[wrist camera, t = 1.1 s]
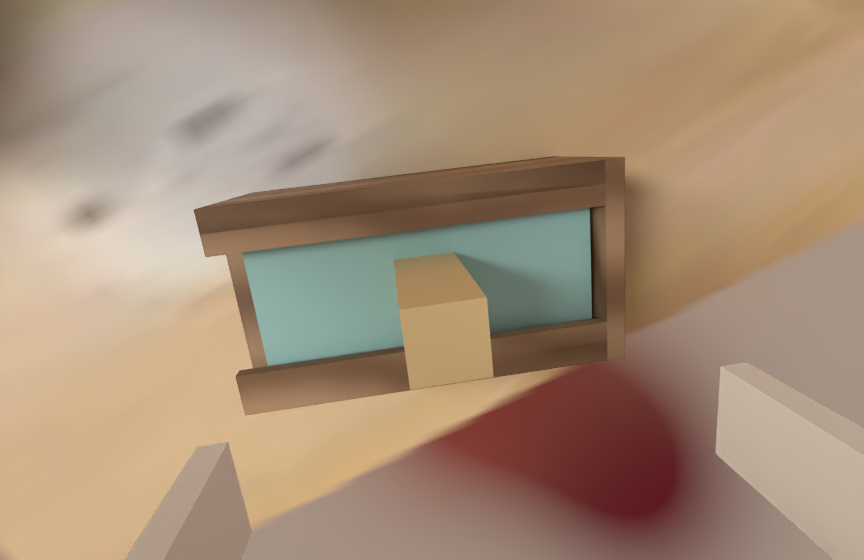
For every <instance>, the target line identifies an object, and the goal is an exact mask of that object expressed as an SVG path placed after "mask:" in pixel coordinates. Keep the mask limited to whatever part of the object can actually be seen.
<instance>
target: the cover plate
mask: <svg viewBox="0 0 864 560" xmlns="http://www.w3.org/2000/svg"><path fill="white" fill-rule="evenodd" d="M242 255H243V259H244V264H245V268H246V272H247V277H248V281H249V286H250V290H251V294H252V299H253V303H254V307H255V312H256V316H257V321H258V325H259V329H260V334H261V338H262V342H263V347H264V351H265V356H266V360H267V364H268V366H274V365H281V364H288V363H295V362H301V361H308V360H315V359H322V358H329V357H336V356H342V355H349V354H356V353H363V352H370V351H377V350H383V349H390V348H397V347H404V349H405V357H406V364H407V371H408V378H409V385H410V390H413V389H420V388H426V387H433V386H439V385H446V384H452V383H459V382H465V381H472V380H478V379H485V378H491V377H494V376H493V364H492V352H491V340H490V334H493V333H499V332H506V331H513V330H520V329H527V328H534V327H540V326H547V325H554V324H561V323H568V322H575V321H581V320H588V319H592V293H591V245H590V208H582V209H575V210H567V211H559V212H551V213H544V214H536V215H528V216H520V217H513V218H505V219H497V220H489V221H482V222H474V223H466V224H458V225H451V226H443V227H435V228H427V229H420V230H412V231H404V232H396V233H389V234H381V235H373V236H365V237H358V238H350V239H342V240H334V241H327V242H319V243H311V244H303V245H296V246H288V247H280V248H272V249H265V250H257V251H249V252H242Z"/></svg>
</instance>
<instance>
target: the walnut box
mask: <svg viewBox="0 0 864 560" xmlns="http://www.w3.org/2000/svg"><path fill="white" fill-rule="evenodd" d="M582 208H590V245H591V293H592V319H588V320H581V321H575V322H568V323H561V324H554V325H547V326H540V327H534V328H527V329H520V330H513V331H506V332H499V333H493V334H490V340H491V352H492V364H493V376H494V377H500V376H507V375H513V374H520V373H526V372H533V371H539V370H546V369H552V368H559V367H565V366H572V365H578V364H585V363H591V362H598V361H604V360H611V359H618V358H624V357H625V157H545V158H537V159H529V160H521V161H512V162H504V163H496V164H487V165H479V166H471V167H462V168H454V169H446V170H438V171H429V172H421V173H413V174H404V175H396V176H388V177H379V178H371V179H363V180H355V181H346V182H338V183H330V184H321V185H313V186H305V187H296V188H288V189H280V190H272V191H263V192H255V193H250V194H246V195H243V196H239V197H236V198H232V199H229V200H226V201H222V202H219V203H215V204H212V205H208V206H205V207H202V208H198V209H195V210H194V213H195V217H196V221H197V225H198V229H199V233H200V237H201V241H202V245H203V249H204V253H205V257H210V256H218V255H226V256H227V260H228V265H229V269H230V273H231V277H232V281H233V286H234V290H235V294H236V298H237V302H238V307H239V311H240V315H241V319H242V323H243V328H244V332H245V336H246V340H247V344H248V349H249V353H250V357H251V361H252V365H253V369H247V370H240V371H239V372H238V374H237V375H236V381H237V384H238V388H239V392H240V396H241V400H242V404H243V408H244V412H245V415H252V414H258V413H265V412H271V411H278V410H285V409H291V408H298V407H304V406H311V405H317V404H324V403H330V402H337V401H343V400H350V399H356V398H363V397H369V396H376V395H382V394H389V393H396V392H402V391H409V390H410V385H409V378H408V371H407V364H406V357H405V349H404V347H397V348H390V349H383V350H377V351H370V352H363V353H356V354H349V355H342V356H336V357H329V358H322V359H315V360H308V361H301V362H295V363H288V364H281V365H274V366H268V364H267V360H266V356H265V351H264V347H263V342H262V338H261V334H260V329H259V325H258V321H257V316H256V312H255V307H254V303H253V299H252V294H251V290H250V286H249V281H248V277H247V272H246V268H245V264H244V259H243V255H242V252H249V251H257V250H265V249H272V248H280V247H288V246H296V245H303V244H311V243H319V242H327V241H334V240H342V239H350V238H358V237H365V236H373V235H381V234H389V233H396V232H404V231H412V230H420V229H427V228H435V227H443V226H451V225H458V224H466V223H474V222H482V221H489V220H497V219H505V218H513V217H520V216H528V215H536V214H544V213H551V212H559V211H567V210H575V209H582ZM491 378H493V377H491ZM485 379H487V378H485ZM478 380H480V379H478ZM472 381H474V380H472ZM465 382H467V381H465ZM459 383H461V382H459ZM452 384H454V383H452ZM446 385H448V384H446ZM439 386H441V385H439ZM433 387H435V386H433ZM426 388H428V387H426ZM420 389H422V388H420ZM413 390H415V389H413Z"/></svg>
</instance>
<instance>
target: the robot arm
mask: <svg viewBox="0 0 864 560" xmlns="http://www.w3.org/2000/svg"><path fill="white" fill-rule="evenodd" d="M716 454H717V455H718V456H719V457H720V458H721V459H722V460H723V461H724V462H726V463H727V464H728V465H729V466H730V467H731V468H732V469H733V470H734V471H736V472H737V473H738V474H739V475H740V476H741V477H742V478H743V479H745V480H746V481H747V482H748V483H749V484H750V485H751V486H752V487H753V488H755V489H756V490H757V491H758V492H759V493H760V494H761V495H763V496H764V497H765V498H766V499H767V500H768V501H769V502H770V503H771V504H772V505H774V506H775V507H776V508H777V509H778V510H779V511H780V512H781V513H782V514H784V515H785V516H786V517H787V518H788V519H789V520H790V521H791V522H792V523H794V524H795V525H796V526H797V527H798V528H799V529H800V530H801V531H803V532H804V533H805V534H806V535H807V536H808V537H809V538H810V539H812V540H813V541H814V542H815V543H816V544H817V545H818V546H819V547H820V548H821V549H823V550H824V551H825V552H826V553H827V554H828V555H829V556H830V557H832V558H833V559H834V560H864V428H863V427H861V426H859V425H857V424H856V423H854V422H852V421H850V420H848V419H847V418H845V417H843V416H841V415H840V414H838V413H836V412H834V411H833V410H831V409H829V408H827V407H826V406H824V405H822V404H820V403H819V402H817V401H815V400H813V399H811V398H810V397H808V396H806V395H804V394H803V393H801V392H799V391H797V390H796V389H794V388H792V387H790V386H789V385H787V384H785V383H783V382H781V381H780V380H778V379H776V378H774V377H773V376H771V375H769V374H767V373H766V372H764V371H762V370H760V369H759V368H757V367H755V366H753V365H751V364H750V363H748V362H745V363H738V364H731V365H725V366H721V367H720V384H719V401H718V418H717V436H716ZM250 534H251V527H250V523H249V519H248V515H247V512H246V508H245V504H244V500H243V496H242V493H241V489H240V485H239V481H238V478H237V474H236V470H235V466H234V462H233V459H232V455H231V451H230V447H229V444H228V442H225V443H219V444H212V445H206V446H199V447H197V448H196V449H195V451H194V453H193V454H192V456H191V457H190V459H189V460H188V462H187V463H186V465H185V466H184V468H183V470H182V471H181V473H180V474H179V476H178V477H177V479H176V480H175V482H174V483H173V485H172V487H171V488H170V490H169V491H168V493H167V494H166V496H165V497H164V499H163V501H162V502H161V504H160V505H159V507H158V508H157V510H156V511H155V513H154V514H153V516H152V518H151V519H150V521H149V522H148V524H147V525H146V527H145V528H144V530H143V531H142V533H141V535H140V536H139V538H138V539H137V541H136V542H135V544H134V545H133V547H132V549H131V550H130V552H129V553H128V555H127V556H126V558H125V559H124V560H241V559H242V556H243V554H244V551H245V548H246V545H247V542H248V539H249V537H250Z"/></svg>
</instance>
